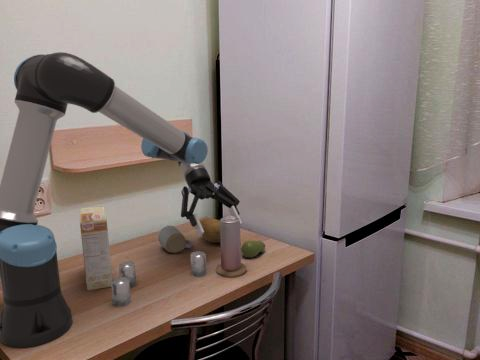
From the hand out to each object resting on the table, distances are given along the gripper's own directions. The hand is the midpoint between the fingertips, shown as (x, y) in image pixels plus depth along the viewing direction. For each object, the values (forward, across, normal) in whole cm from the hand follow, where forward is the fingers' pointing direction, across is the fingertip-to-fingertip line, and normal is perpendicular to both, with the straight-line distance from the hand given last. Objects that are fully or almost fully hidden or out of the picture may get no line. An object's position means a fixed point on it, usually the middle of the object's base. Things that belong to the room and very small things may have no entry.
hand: (221, 230), depth 128 cm
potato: (-5, -9, -21) cm, 23 cm away
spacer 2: (+9, +9, -7) cm, 14 cm away
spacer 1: (+11, +33, -5) cm, 35 cm away
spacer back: (+5, +28, -11) cm, 31 cm away
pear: (+8, -13, -9) cm, 17 cm away
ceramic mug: (-6, +5, -23) cm, 24 cm away
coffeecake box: (-2, +34, -18) cm, 38 cm away
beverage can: (+11, 0, -4) cm, 12 cm away
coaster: (+12, 0, -4) cm, 12 cm away
